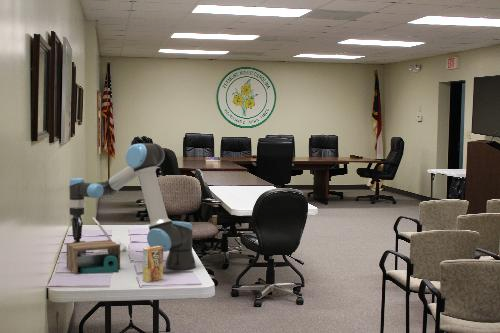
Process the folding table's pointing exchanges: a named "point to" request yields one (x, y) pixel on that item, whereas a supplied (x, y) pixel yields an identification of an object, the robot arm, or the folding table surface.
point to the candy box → (152, 263)
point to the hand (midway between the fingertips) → (77, 251)
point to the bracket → (102, 269)
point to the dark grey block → (90, 259)
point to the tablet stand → (122, 246)
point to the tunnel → (86, 246)
